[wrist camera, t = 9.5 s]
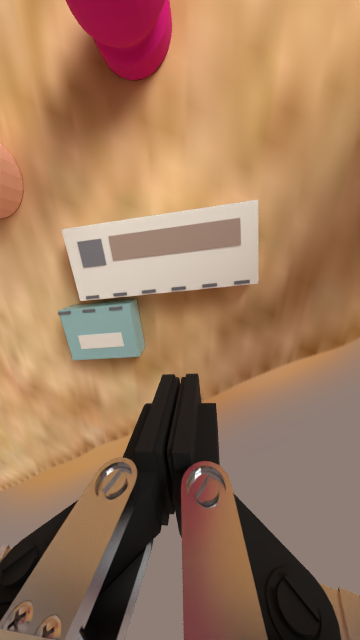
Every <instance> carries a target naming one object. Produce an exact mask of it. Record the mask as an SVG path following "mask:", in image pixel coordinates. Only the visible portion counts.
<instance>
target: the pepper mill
mask: <svg viewBox="0 0 360 640" xmlns="http://www.w3.org/2000/svg"><path fill="white" fill-rule="evenodd" d="M66 2H67V4H68V6H69V8H70V10H71V12H72V14H73V15H74V17H75V18H76V20H77V21H78V23H79V24H80V25H81V27H82V28H83V29H84V30H85V31H86V32H87V33H88V34H89V35H90V36H92V37H93V39H94V41H95V43H96V45H97V47H98V49H99V51H100V53H101V55H102V57H103V59H104V60H105V62H106V64H107V65H108V66H109V68H110V69H111V70H112V71H113V72H115V73H116V74H117V75H119V76H120V77H122V78H125V79H128V80H139V79H142V78H146V77H147V76H149V75H150V74H152V73H153V72H155V70H156V69H157V68H158V67H159V65H160V64H161V63H162V61H163V59H164V58H165V55H166V53H167V51H168V48H169V44H170V40H171V33H172V17H171V10H170V2H169V0H66Z"/></svg>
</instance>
